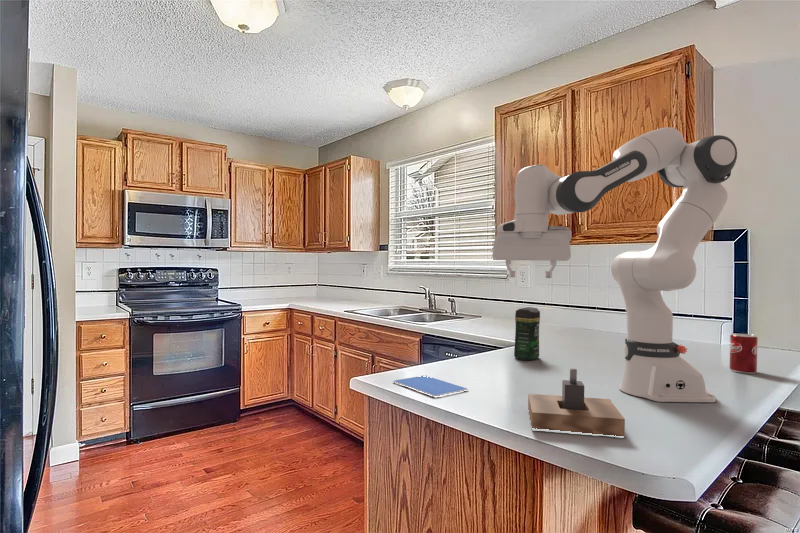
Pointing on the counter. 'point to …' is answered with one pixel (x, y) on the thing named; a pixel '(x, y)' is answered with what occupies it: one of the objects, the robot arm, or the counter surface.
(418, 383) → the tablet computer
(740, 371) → the soda can
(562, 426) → the socket
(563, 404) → the plug
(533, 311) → the coffee jar
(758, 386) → the counter surface
